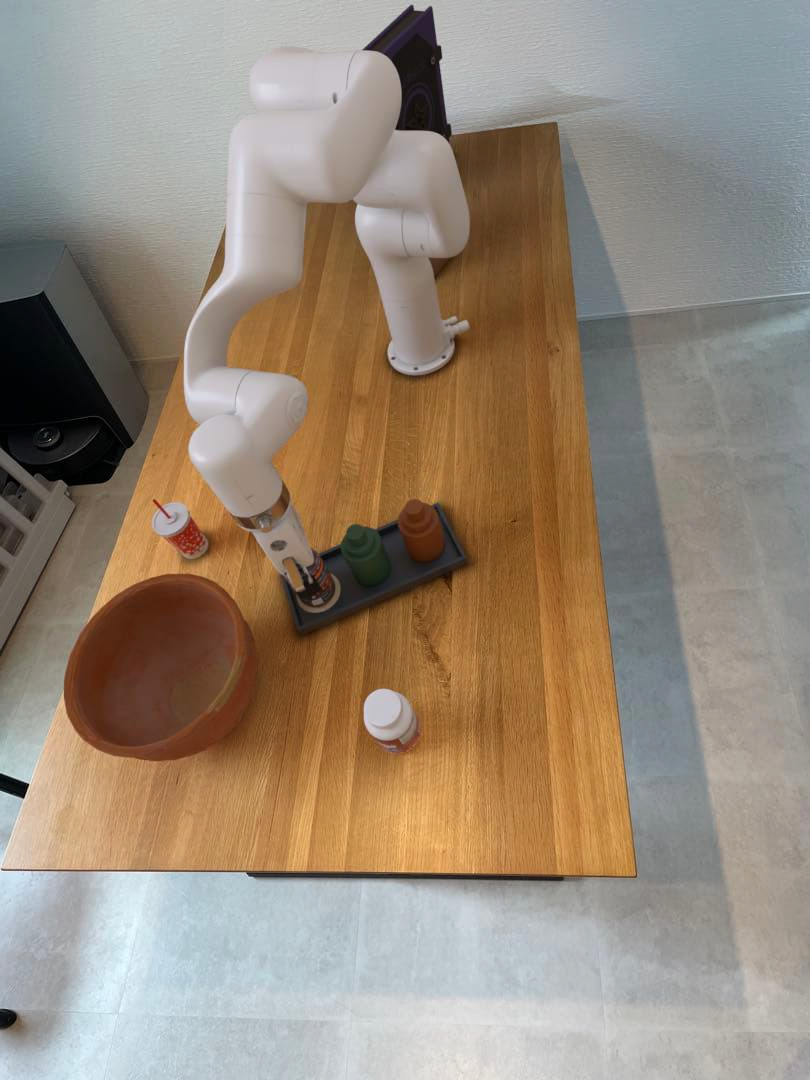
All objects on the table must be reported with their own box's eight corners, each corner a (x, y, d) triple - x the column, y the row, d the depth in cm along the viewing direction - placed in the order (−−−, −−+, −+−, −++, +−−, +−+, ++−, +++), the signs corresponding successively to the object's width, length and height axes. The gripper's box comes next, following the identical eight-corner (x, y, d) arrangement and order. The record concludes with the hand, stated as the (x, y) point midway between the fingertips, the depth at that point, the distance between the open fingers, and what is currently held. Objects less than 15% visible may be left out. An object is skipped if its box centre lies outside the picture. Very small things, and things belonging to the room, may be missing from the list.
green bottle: (383, 546, 106) (367, 507, 97) (397, 576, 103) (381, 539, 94) (348, 561, 106) (328, 524, 97) (360, 592, 103) (341, 556, 94)
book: (400, 216, 150) (369, 68, 125) (377, 211, 153) (342, 65, 128) (454, 155, 159) (435, 5, 133) (431, 151, 161) (409, 3, 136)
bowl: (236, 807, 90) (185, 784, 78) (91, 750, 98) (23, 720, 86) (311, 640, 101) (276, 595, 88) (174, 600, 109) (124, 554, 96)
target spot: (332, 565, 106) (332, 564, 106) (346, 601, 103) (346, 601, 102) (291, 582, 106) (291, 582, 106) (303, 620, 102) (303, 619, 102)
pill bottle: (367, 736, 92) (346, 711, 83) (396, 700, 94) (379, 672, 84) (402, 765, 89) (384, 743, 80) (431, 727, 91) (417, 701, 82)
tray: (440, 509, 109) (438, 502, 107) (468, 563, 103) (466, 557, 101) (282, 576, 108) (278, 570, 106) (301, 636, 102) (297, 630, 100)
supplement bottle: (331, 610, 102) (308, 575, 93) (294, 606, 104) (268, 572, 94) (340, 575, 105) (319, 538, 95) (305, 572, 106) (280, 535, 97)
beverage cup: (218, 535, 114) (180, 487, 102) (202, 566, 111) (160, 520, 100) (188, 528, 116) (147, 480, 104) (171, 559, 113) (127, 513, 102)
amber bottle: (436, 523, 107) (425, 482, 97) (451, 553, 103) (441, 514, 94) (401, 538, 106) (387, 499, 97) (415, 568, 103) (401, 531, 94)
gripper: (305, 541, 78) (344, 605, 93) (269, 439, 88) (309, 511, 102) (245, 567, 78) (293, 627, 93) (215, 461, 88) (263, 530, 102)
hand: (301, 566), depth 97 cm, fingers open, 9 cm apart
